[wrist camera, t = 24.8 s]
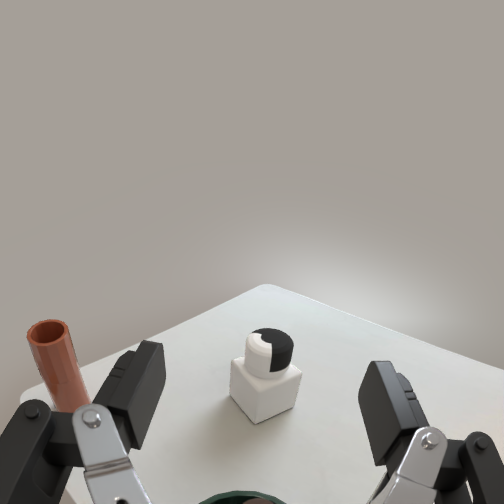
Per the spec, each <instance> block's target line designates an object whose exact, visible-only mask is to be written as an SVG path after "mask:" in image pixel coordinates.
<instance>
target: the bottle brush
mask: <svg viewBox="0 0 504 504" xmlns="http://www.w3.org/2000/svg"><path fill="white" fill-rule="evenodd" d="M243 504H273V503H272V502H270V501H269V500H266V499H261V498H255V499H250V500H248V501H246V502H244V503H243Z"/></svg>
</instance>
